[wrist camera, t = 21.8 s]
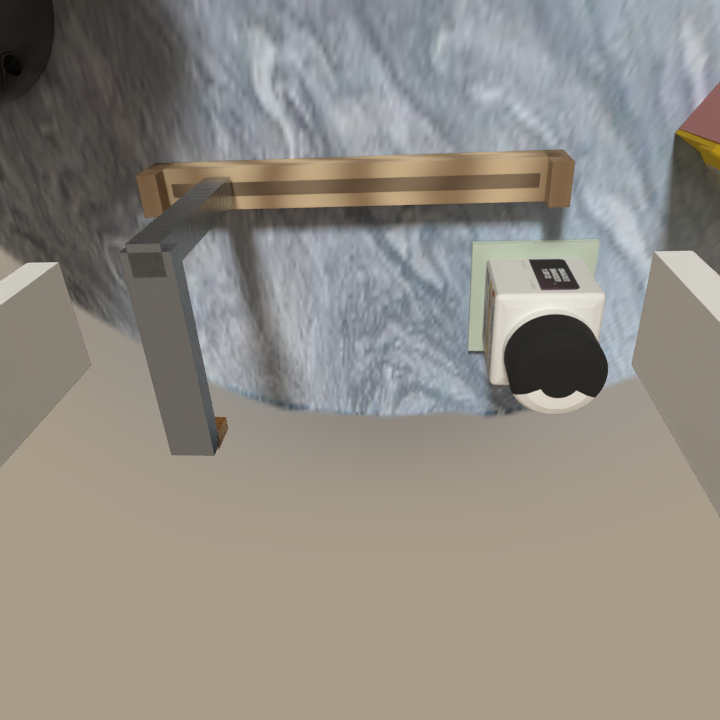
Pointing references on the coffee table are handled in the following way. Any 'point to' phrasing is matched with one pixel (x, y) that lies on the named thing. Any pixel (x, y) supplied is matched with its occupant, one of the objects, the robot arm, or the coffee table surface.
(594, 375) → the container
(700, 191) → the coffee table surface
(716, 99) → the alarm clock
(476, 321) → the pad
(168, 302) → the grey l-shaped beam
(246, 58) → the coffee table surface
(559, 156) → the rail
